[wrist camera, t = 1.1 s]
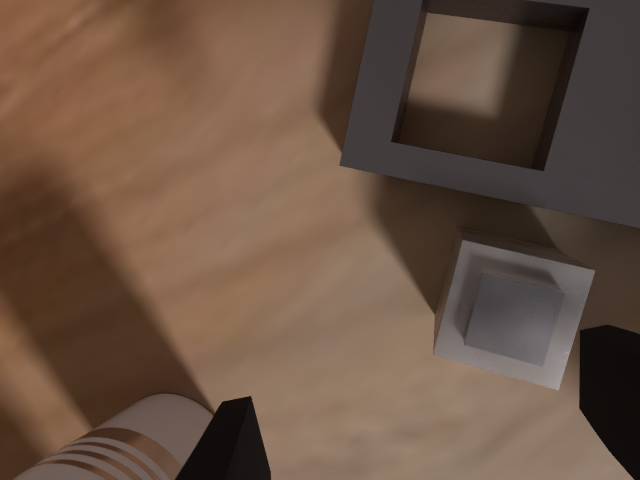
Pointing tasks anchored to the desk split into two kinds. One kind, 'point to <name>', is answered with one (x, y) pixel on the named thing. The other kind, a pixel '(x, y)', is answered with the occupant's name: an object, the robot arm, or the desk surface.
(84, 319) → the desk surface
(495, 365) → the stepped square block
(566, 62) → the plate with square hole
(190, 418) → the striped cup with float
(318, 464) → the desk surface
